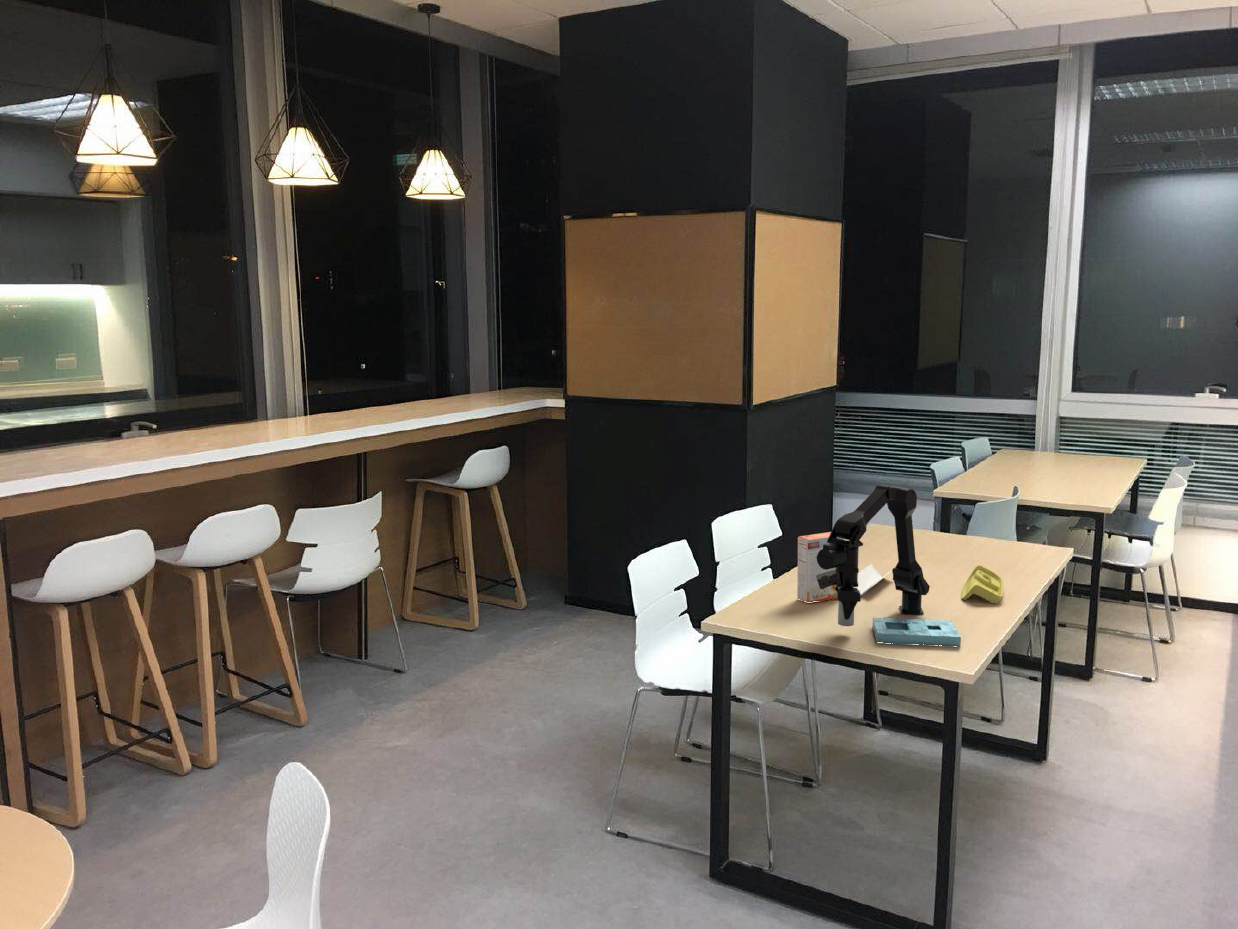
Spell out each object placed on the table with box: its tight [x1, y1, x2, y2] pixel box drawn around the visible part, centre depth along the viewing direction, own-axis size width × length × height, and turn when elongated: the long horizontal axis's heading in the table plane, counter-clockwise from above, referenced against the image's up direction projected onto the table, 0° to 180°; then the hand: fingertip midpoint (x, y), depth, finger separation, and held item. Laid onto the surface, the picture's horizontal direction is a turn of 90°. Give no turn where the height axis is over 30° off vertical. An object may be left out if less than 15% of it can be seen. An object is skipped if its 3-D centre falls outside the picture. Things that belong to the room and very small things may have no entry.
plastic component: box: [960, 564, 1004, 604], centre depth 312 cm, size 20×7×10 cm
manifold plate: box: [872, 616, 962, 648], centre depth 273 cm, size 14×22×3 cm, turn 81°
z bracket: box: [854, 563, 896, 596], centre depth 323 cm, size 12×25×6 cm
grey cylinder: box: [837, 601, 855, 627], centre depth 275 cm, size 4×4×8 cm
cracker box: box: [796, 531, 845, 602], centre depth 307 cm, size 14×6×21 cm, turn 115°
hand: (846, 616), depth 275 cm, fingers closed on grey cylinder, 4 cm apart
